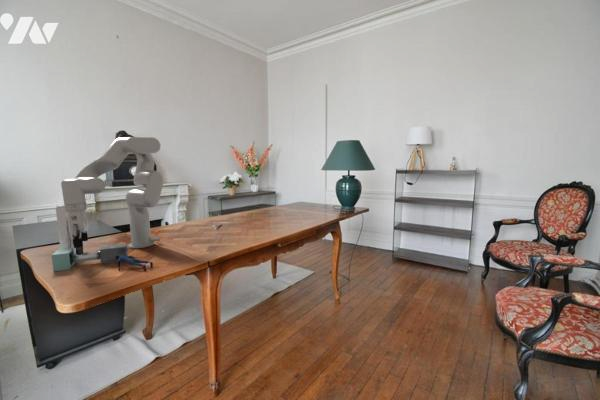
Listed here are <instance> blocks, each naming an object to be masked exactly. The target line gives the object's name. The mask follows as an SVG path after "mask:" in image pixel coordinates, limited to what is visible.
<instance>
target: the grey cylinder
mask: <svg viewBox="0 0 600 400" xmlns="http://www.w3.org/2000/svg"><path fill="white" fill-rule="evenodd" d="M55 213H56V222H57V231H58V232H57V233H58V242H59V249H65V248H74V245H73V236H72V235H73V234H72V233H71V231H70V225H69V217H68V216H69V215H68V212H65V206H64V204H58V205H56V206H55ZM74 254H76V248H74Z"/></svg>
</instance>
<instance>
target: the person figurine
mask: <svg viewBox="0 0 600 400" xmlns="http://www.w3.org/2000/svg"><path fill="white" fill-rule="evenodd" d="M116 260H118V262H117V267H118V268H117V269H118V271H119V272H121V268H120V266H121V263H122V264H124V263H127V264H129V265H131V266H138V267H141V268H142V270H143V271H146V270H147V268H146V267H148V268H149V267H150V269H152V268H153V266H154V263H153V262H152V261H147V260H140V259H138V258H136V257H135V256H133V255H128V256H121V257H119V256H116Z"/></svg>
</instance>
